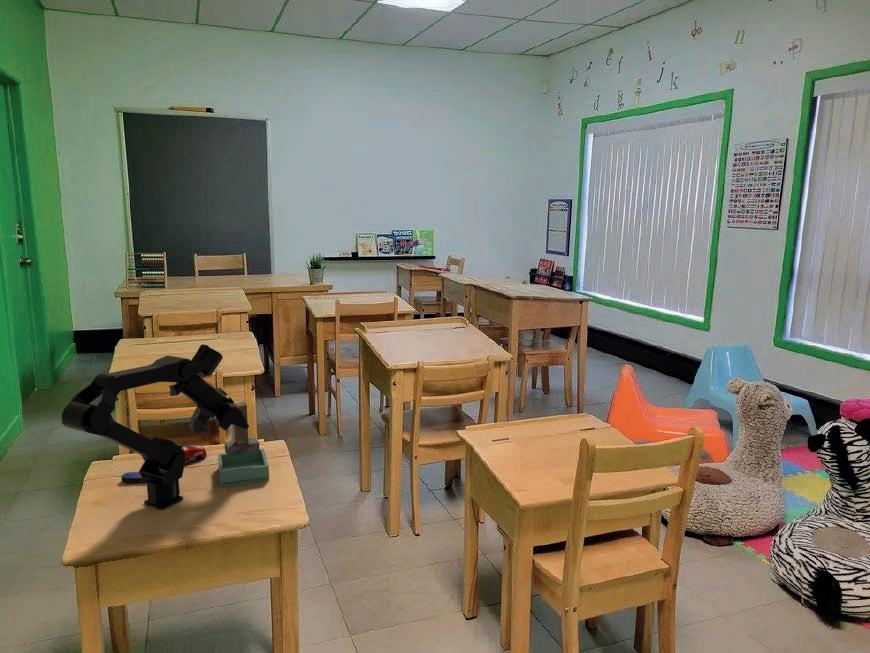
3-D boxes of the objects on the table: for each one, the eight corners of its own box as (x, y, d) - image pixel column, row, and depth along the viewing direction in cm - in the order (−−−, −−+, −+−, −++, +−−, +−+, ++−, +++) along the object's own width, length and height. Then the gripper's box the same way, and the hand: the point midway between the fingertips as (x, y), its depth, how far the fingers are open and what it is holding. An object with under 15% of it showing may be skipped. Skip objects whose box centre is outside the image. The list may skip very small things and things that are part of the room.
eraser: (170, 477, 169) (170, 471, 169) (164, 484, 165) (164, 478, 165) (126, 477, 168) (125, 471, 168) (119, 484, 164) (119, 477, 164)
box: (269, 480, 168) (268, 465, 167) (220, 486, 163) (220, 472, 163) (264, 462, 179) (263, 448, 178) (218, 468, 174) (217, 454, 174)
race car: (163, 473, 171) (162, 459, 170) (154, 467, 175) (153, 453, 174) (209, 459, 181) (208, 445, 180) (200, 453, 184) (199, 440, 184)
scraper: (228, 456, 166) (226, 408, 163) (224, 451, 169) (222, 404, 167) (259, 450, 170) (257, 404, 167) (255, 445, 173) (253, 399, 171)
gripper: (171, 406, 167) (217, 438, 175) (184, 428, 151) (234, 463, 159) (201, 373, 170) (245, 406, 177) (216, 392, 154) (264, 428, 162)
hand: (246, 426), depth 169 cm, fingers closed on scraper, 3 cm apart
